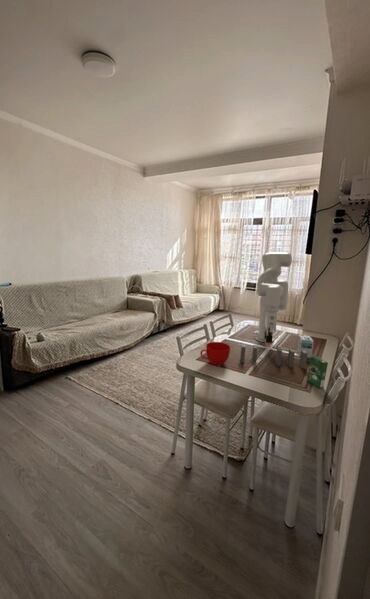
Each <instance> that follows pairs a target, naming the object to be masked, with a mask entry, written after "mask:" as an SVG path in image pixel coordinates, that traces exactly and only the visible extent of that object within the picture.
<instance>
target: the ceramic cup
mask: <svg viewBox="0 0 370 599" xmlns="http://www.w3.org/2000/svg"><path fill="white" fill-rule="evenodd" d="M230 351H231V346H230V345H229V344H227V343H224V342H218V341H213V342H212V341H211V342H208V343H206V345H205V349H201V351H200V353H199V354H200V356H201V357H202V358H203V359H204V360H205V359H206V360H208V361H209V363H210V364H211V365H212V366H214V367H215V366H219V367H221V366H223V365H224V364H225V363H226V362H227V361H228V359H229V356H230ZM203 352H205V353H206V356H204V355H203Z"/></svg>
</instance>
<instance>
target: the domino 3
mask: <svg viewBox="0 0 370 599" xmlns="http://www.w3.org/2000/svg"><path fill="white" fill-rule="evenodd" d="M268 330H270V329H268ZM269 332H270V331H269ZM266 335H267V332H266ZM264 343H265V344H264V345H265V347H266V348H268V349H270V348H271V344H272V343H266V341H265V342H264Z"/></svg>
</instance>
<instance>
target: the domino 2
mask: <svg viewBox="0 0 370 599" xmlns="http://www.w3.org/2000/svg"><path fill="white" fill-rule="evenodd" d="M257 358H258V345H256V344H253V345H252V354H251V364H255V365H257Z"/></svg>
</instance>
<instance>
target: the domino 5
mask: <svg viewBox="0 0 370 599" xmlns="http://www.w3.org/2000/svg"><path fill="white" fill-rule="evenodd" d="M295 353H296V351H295V350H294V349H293V348H288V353H287V361H286V364H287V366H288V368H293V367H294V360H295Z"/></svg>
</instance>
